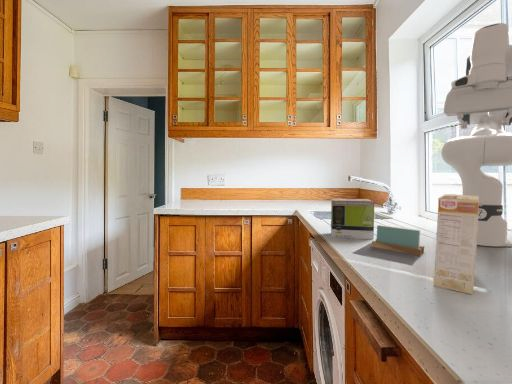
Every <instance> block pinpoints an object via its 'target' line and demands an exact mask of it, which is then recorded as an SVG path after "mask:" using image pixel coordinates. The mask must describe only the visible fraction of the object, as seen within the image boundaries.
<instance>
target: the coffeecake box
mask: <svg viewBox="0 0 512 384" xmlns="http://www.w3.org/2000/svg"><path fill="white" fill-rule="evenodd" d="M437 199H438V200H437V202H438V205H437V207H438V208H437V222H436V223H437V224H436V240H435V241H436V243H435V261H434V262H435V263H434V277H433V278H434V279H433V280H434V281H433V286H434V287H436V286H437V287H436V288H440V287H441V289H446V290H450V291H456V292H459V293H464V294H467V295H473V293H474V286H475V278H476V277H475V276H476V262H477V247H478V245H477V232H478V210H479V197H478V196H469V195H463V194H456V193H455V194H452V193H451V194H443V195H441V196H440V197H438V198H437Z"/></svg>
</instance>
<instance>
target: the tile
mask: <svg viewBox="0 0 512 384" xmlns="http://www.w3.org/2000/svg"><path fill="white" fill-rule="evenodd" d="M376 226H377V227H376V239H377V242H383V243H389V244H395V245H402V246H408V247H414V248H419V247H420V246H421V245H420V243H421V229H416V228H415V229H414V228H408V227H407V228H406V227H398V226H391V225H385V224H384V225H383V224H378V225H376Z"/></svg>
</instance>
